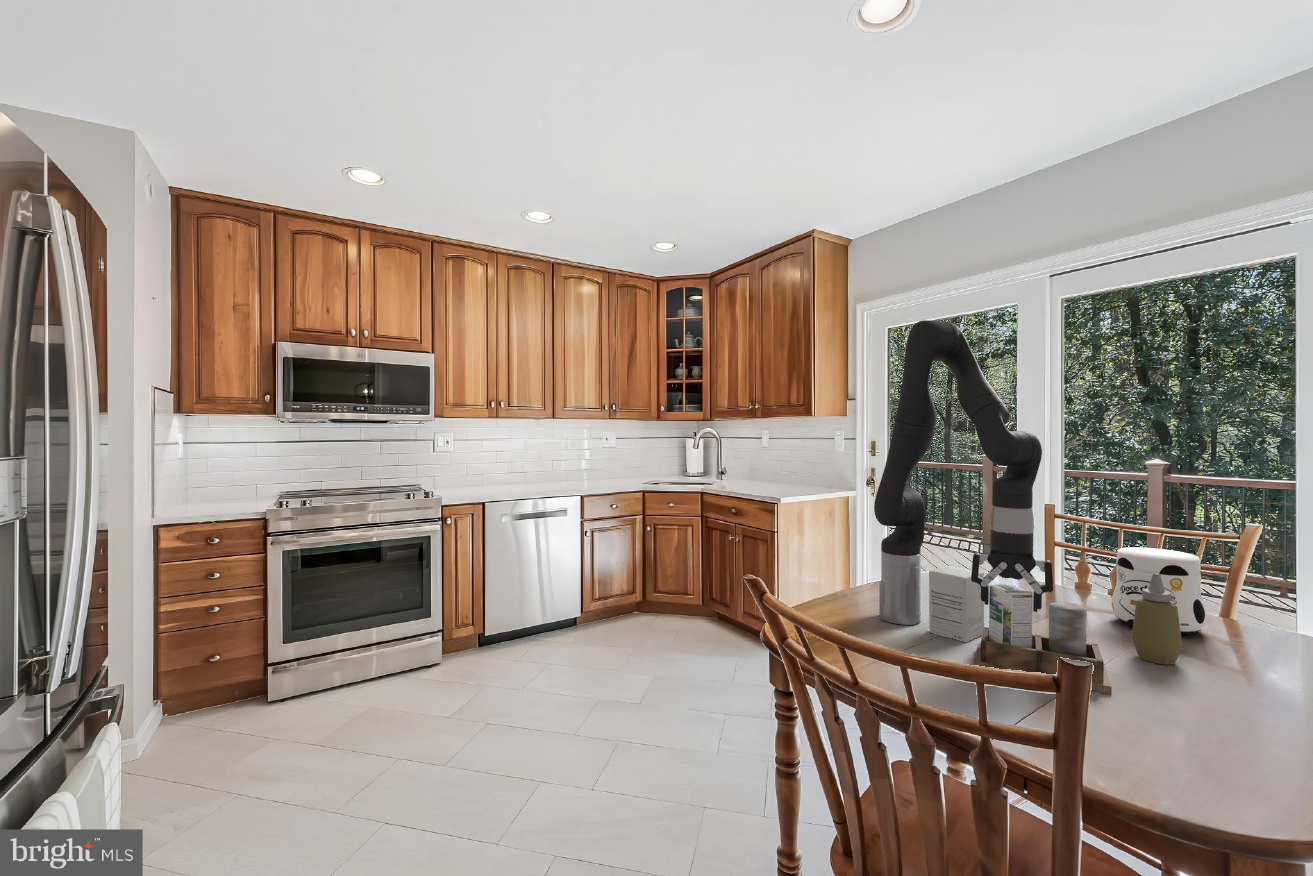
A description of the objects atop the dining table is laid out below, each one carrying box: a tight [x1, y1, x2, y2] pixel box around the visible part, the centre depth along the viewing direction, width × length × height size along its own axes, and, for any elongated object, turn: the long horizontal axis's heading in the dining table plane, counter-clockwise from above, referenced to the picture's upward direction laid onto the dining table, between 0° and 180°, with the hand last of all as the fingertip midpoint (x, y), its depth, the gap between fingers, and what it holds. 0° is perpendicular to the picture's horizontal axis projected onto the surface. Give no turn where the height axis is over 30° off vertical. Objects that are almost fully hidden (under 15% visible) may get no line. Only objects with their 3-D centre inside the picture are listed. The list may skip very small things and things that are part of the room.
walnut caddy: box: [973, 602, 1113, 696], centre depth 117 cm, size 22×12×14 cm, turn 58°
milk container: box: [1111, 546, 1207, 635], centre depth 141 cm, size 17×17×18 cm
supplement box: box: [928, 565, 985, 643], centre depth 138 cm, size 9×9×15 cm
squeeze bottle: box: [1131, 573, 1183, 665], centre depth 121 cm, size 8×8×18 cm
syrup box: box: [988, 583, 1033, 649], centre depth 119 cm, size 6×6×14 cm
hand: (1010, 607), depth 119 cm, fingers open, 8 cm apart
